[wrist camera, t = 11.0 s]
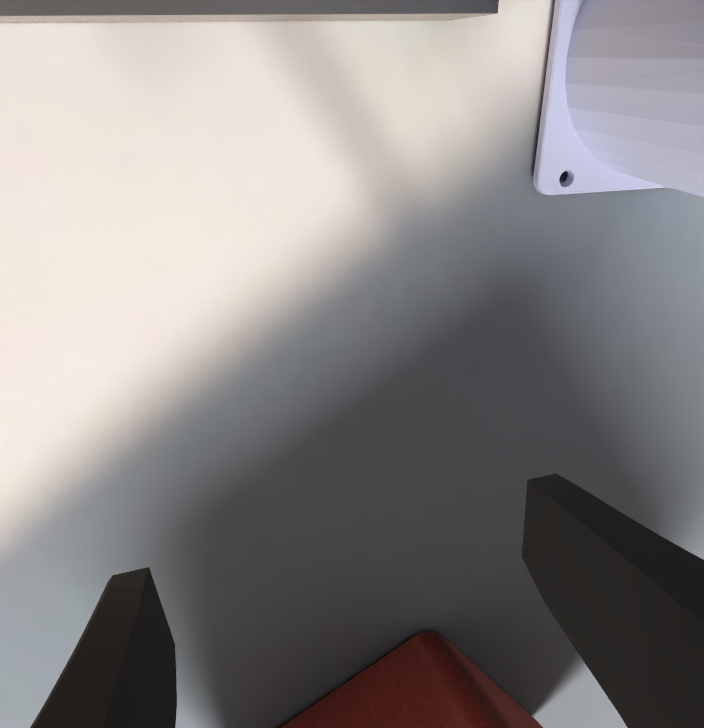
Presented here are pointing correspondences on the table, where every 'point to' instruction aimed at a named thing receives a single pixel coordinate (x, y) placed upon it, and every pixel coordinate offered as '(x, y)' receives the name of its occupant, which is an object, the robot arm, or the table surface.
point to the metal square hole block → (238, 10)
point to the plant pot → (418, 693)
